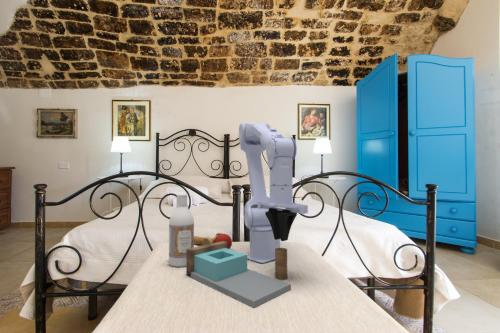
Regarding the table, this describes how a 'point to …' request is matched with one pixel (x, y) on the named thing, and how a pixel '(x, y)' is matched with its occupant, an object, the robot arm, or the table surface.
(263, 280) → the slate board
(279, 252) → the walnut dowel
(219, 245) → the walnut wall
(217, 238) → the kendama
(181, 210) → the bath foam
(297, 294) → the table surface
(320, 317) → the table surface
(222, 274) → the teal block
